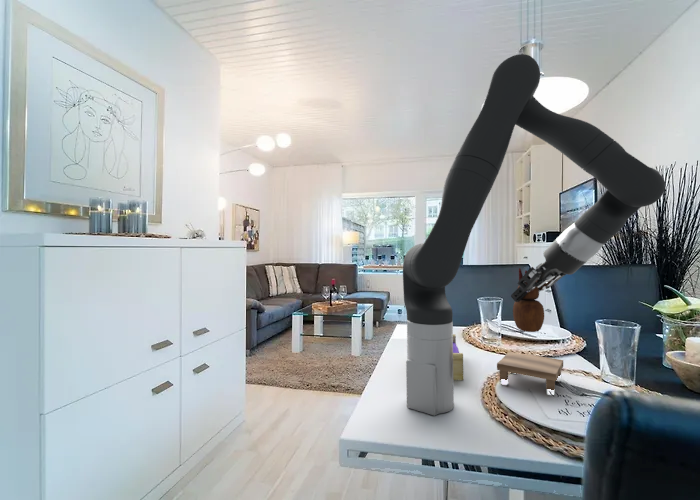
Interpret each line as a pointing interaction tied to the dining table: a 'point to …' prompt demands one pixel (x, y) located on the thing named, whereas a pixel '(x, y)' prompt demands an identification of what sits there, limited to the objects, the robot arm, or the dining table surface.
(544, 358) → the footstool
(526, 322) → the wooden figurine
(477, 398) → the dining table surface
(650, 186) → the robot arm
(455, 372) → the toy sofa
